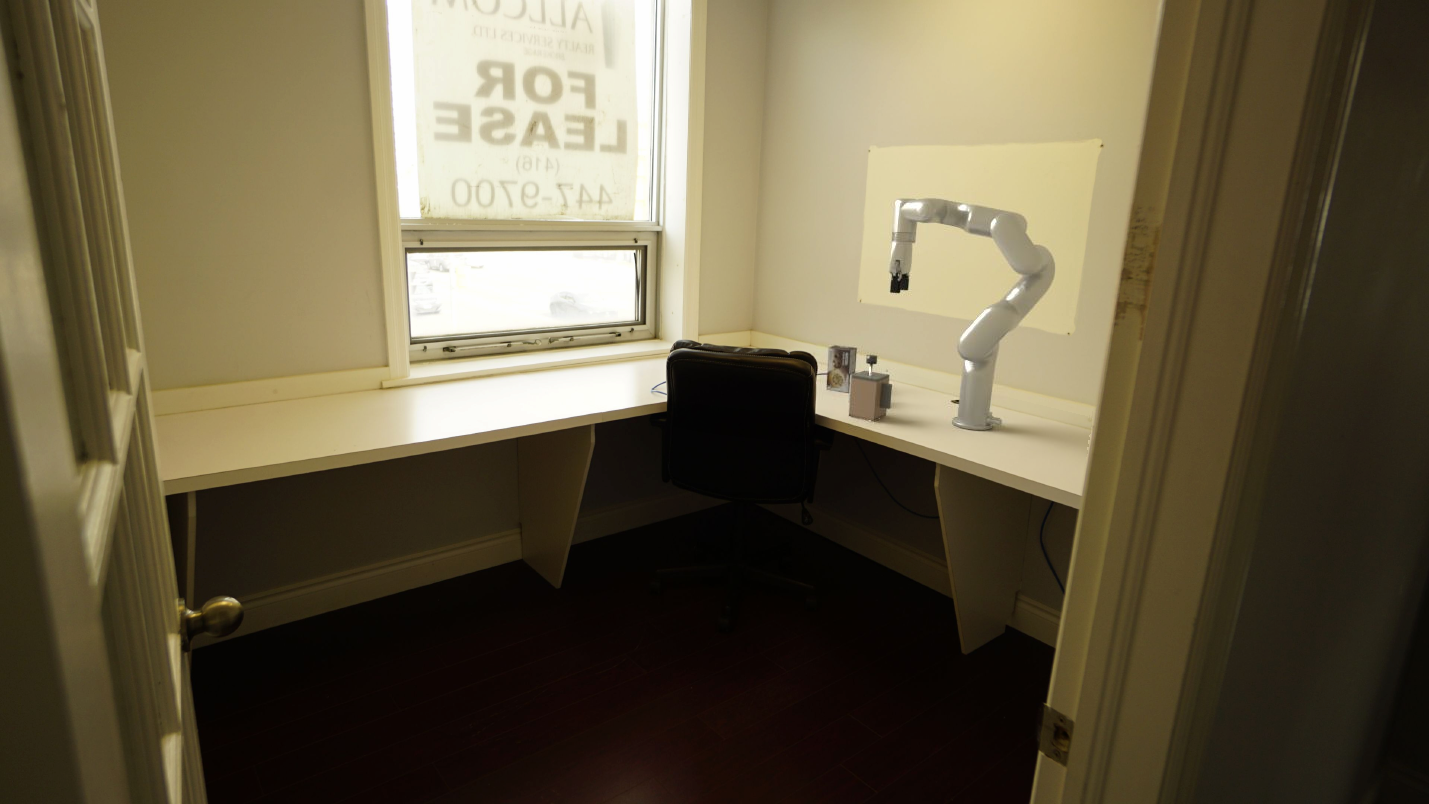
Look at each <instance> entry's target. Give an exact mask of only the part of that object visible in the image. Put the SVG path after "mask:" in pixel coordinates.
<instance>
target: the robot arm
mask: <svg viewBox="0 0 1429 804" xmlns="http://www.w3.org/2000/svg"><path fill="white" fill-rule="evenodd" d="M892 218H893V219H892V229H891V230H892V232H891V243H892V246H891V251H890V257H889V259H890V260H889V266H888V272H889V274H890V275H891V277H890V289H889V290H890V291H889V292H890V293H891V294H901V291H909V285H910V272H911V271H912V263H913V262H912V261H913V244H916V239H917V238H916V237H917V227H918V223H922V224H932V223H933V224H935V223H936V224H941V225H945V226H946V225H947V226H950V227H953V228H954V227H955V228H958V229H960V230H963V231H964V232H965V233H968V234H971V235H976V236H980V237H985V238H989V239H990V238H991V239H993V241H994V243H995V244H996V246H997V248H998V249H999V251H1000V252H1001V253H1002V255H1003V257H1004V259H1005V260H1006V261H1007V263H1008V264H1009V266H1010V267H1011V268H1012V270H1013V271H1014V272H1015V273H1017V274H1018V275H1021V277H1020V279H1019V280H1018V281H1017V282H1016V283H1015V284H1014V285H1013V286H1012V287H1011V289H1010V290H1009V291H1008V292H1007V293H1006V294H1005V295H1004V296H1003V297H1002V298H1001V299H1000V300H999V301H998V302H995V303H992V304H990V305H988V307H986V308H985V309H984V310H983V311H982V312H981V313H980V314H979V315H978V316H977V317H976V319H974V321H973V322H972V323H971V324H970V325H969V326H968V328H966V329H965V330H964V332H963V333H962V334H961V335H960V337H959V339H958V341H957V345H956V348H957V353H958V355H959V356H960V358H962V360H963V365H962V373H961V382H960V392H959V401H958V409H957V416H955V417H953V418H952V419H951V423H952V424H953V426H956V427H958V428H961V429H967V430H974V431H983V430H984V431H985V430H990V429H992V428H993V427H994V425H995V426H1002V423H1003V419H1001V417H995V416H993V411H991V401H992V394H993V385H994V379H995V370H996V363H997V358H998V355H999V351H1000V341H1001V340H1002V339H1003V338H1005V336H1006V335H1007V334H1008V333H1010V332H1013V330H1014V329H1016V328H1017V327H1018V326H1019V324H1020V323H1021V322H1022V320H1023V319H1024V318H1026V316H1027V315H1028V314H1029V313H1030V312H1031V311H1032V310H1033V308H1035V306H1036V304H1038V303H1039V302H1040V300H1041V299H1042V298H1043V297H1044V296H1045V295H1046V293H1047V292H1048V291H1049V289H1050V287H1051V286H1052V284H1053V281H1054V279H1055V276H1056V275H1055V274H1056V262H1055V260H1054V257H1053V255H1052V253H1051V251H1050V250H1049V249H1048V248H1047V247H1045V246H1044V245H1040V244H1034V243H1033V241H1032V240H1031V237H1030V236H1029V235H1028V234H1027V229H1028V222H1027V219H1026V218H1025V216H1023V214H1021V213H1018V212H1015V211H1008V210H1004V209H997V208H992V207H988V206H981V205H977V204H967V203H963V202H959V201H958V202H957V201H952V200H948V199H944V198H943V199H942V198H934V197H933V198H931V197H930V198H929V197H927V198H919V199H917V198H904V197H903V198H898V199H896V200H895V201H894V207H893V217H892Z"/></svg>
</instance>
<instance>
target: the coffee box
mask: <svg viewBox="0 0 1429 804" xmlns="http://www.w3.org/2000/svg"><path fill="white" fill-rule="evenodd" d="M857 351H858V348H857V347H853V346H845V345H836V344H835V345H832V346H830V347H828V348H827V370H826V371H827V373H826V388H825V389H826V390H828V391H835V392H841V393H848V394H849V388H850V375H851V374H852V373H856V367H857V364H856V363H857V353H858V352H857Z"/></svg>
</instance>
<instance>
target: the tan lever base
mask: <svg viewBox="0 0 1429 804" xmlns="http://www.w3.org/2000/svg"><path fill="white" fill-rule="evenodd" d="M869 371H870V370H863V371H860V372H859V371H858V372H855V373H856V374H853V375H852V376H851V391H850V403H849V406H848V407H849V409H848V417H849V416H851V417H850V418H854V417H855V419H859V418H861V419H860V420H865V421H868V420H871V421H870V422H873V421H874V422H876V421H879V420H880V419H883V418H885V417H887V410H890V409H891V406H892V405H891V403H892V402H891V401H892V391H893V384H892V383H890V374H886V373H882V372H876V371H872V376H870V375H869ZM882 417H883V418H882ZM879 418H880V419H879ZM875 420H876V421H875Z"/></svg>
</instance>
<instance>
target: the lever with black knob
mask: <svg viewBox="0 0 1429 804" xmlns="http://www.w3.org/2000/svg"><path fill="white" fill-rule="evenodd" d="M865 363H866V364H869V370H868V371H869V375H870V376H872V372H873V367H874V365H877V364H878V355H875V354H867V355H866V361H865Z"/></svg>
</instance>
